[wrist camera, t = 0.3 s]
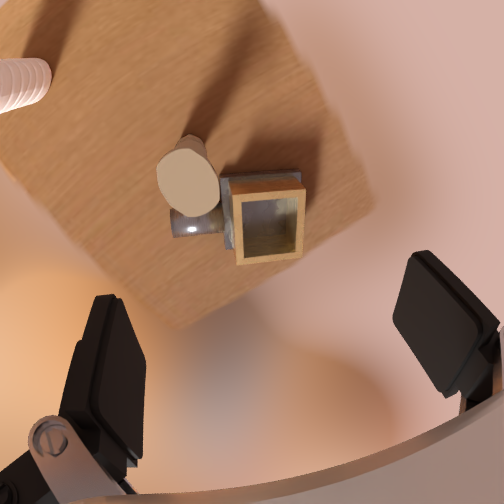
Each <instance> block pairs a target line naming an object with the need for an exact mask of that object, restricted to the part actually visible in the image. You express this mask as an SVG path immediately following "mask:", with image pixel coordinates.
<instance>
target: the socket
mask: <svg viewBox="0 0 504 504" xmlns="http://www.w3.org/2000/svg"><path fill="white" fill-rule="evenodd" d="M219 177H220V191H221V203H218V204H217V205H216V206H215V207H214V208H213V209H212V210H211V211H209V212H207V213H206V214H203V215H201V216H197V217H187V216H185V215H184V214H182V213H180V212H179V211H177V210H175V209H174V208H172V209H170V220H171V229H172V234H173V237H174V238H177V237H186V236H194V235H203V234H212V233H221V232H224V242H225V248H226V250H227V249H233V251H234V256H235V260H236V264H237V265H244V264H253V263H261V262H269V261H277V260H286V259H294V258H302V250H303V236H304V219H305V201H306V189H305V187H304V186H303V185H302V184H301V171H300V170H299V169H286V170H270V171H256V172H244V173H232V174H221V175H219Z"/></svg>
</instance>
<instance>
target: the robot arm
mask: <svg viewBox="0 0 504 504" xmlns="http://www.w3.org/2000/svg"><path fill="white" fill-rule="evenodd" d="M393 323H394V325H395V327H396V328H397V329H398V331H399V332H400V334H401V335H402V337H403V338H404V340H405V341H406V343H407V344H408V346H409V347H410V349H411V350H412V352H413V353H414V355H415V356H416V358H417V359H418V361H419V362H420V364H421V365H422V367H423V369H424V370H425V372H426V373H427V375H428V376H429V378H430V379H431V381H432V383H433V384H434V386H435V387H436V389H437V390H438V391H439V392H442V394H443V396H444V397H445V398H448V397H450V396H452V395H454V394H456V393H457V392H458V390H460V392H461V402H460V409H459V416H457V417H455V418H453V419H452V420H449V421H448V422H446V423H444V424H442V425H440V426H438V427H436V428H434V429H432V430H429V431H427V432H425V433H423V434H421V435H418V436H416V437H414V438H412V439H409V440H407V441H405V442H402V443H400V444H398V445H395V446H393V447H390V448H388V449H385V450H382V451H380V452H377V453H375V454H372V455H369V456H366V457H363V458H360V459H358V460H354V461H351V462H348V463H346V464H342V465H338V466H335V467H332V468H328V469H325V470H321V471H317V472H313V473H309V474H306V475H301V476H297V477H293V478H288V479H283V480H278V481H274V482H268V483H262V484H257V485H250V486H244V487H236V488H228V489H220V490H211V491H200V492H186V493H169V494H168V493H167V494H166V493H165V494H139V493H138V492H137V491H136V489H135V488H134V487H133V486H132V485H131V484H130V483H129V482H128V481H127V479H126V478H125V477H126V476H127V475H126V474H127V473H126V472H127V467H137V459H141V458H142V456H143V416H144V395H145V378H146V360H145V357H144V354H143V352H142V349H141V347H140V345H139V342H138V340H137V337H136V335H135V332H134V330H133V327H132V325H131V322H130V319H129V317H128V314H127V311H126V309H125V306H124V303H123V301H122V299H121V298H116V296H115V295H114V294H109V295H100V296H96V297H95V299H94V302H93V305H92V308H91V311H90V314H89V317H88V321H87V324H86V327H85V330H84V334H83V337H82V340H79V341H78V342H77V344H76V346H75V350H74V353H73V357H72V360H71V364H70V368H69V371H68V375H67V379H66V384H65V387H64V392H63V396H62V400H61V404H60V409H59V414H58V416H54V415H51V416H45V417H43V418H41V419H40V420H38V421H37V422H36V423H35V424H34V425H33V427H32V428H31V430H30V433H29V436H28V446H29V450H28V451H27V452H25V453H24V454H23V455H21V456H20V457H19V458H18V459H16V460H15V461H14V462H12V463H11V464H10V465H9V466H7V467H6V468H5V469H3V470H2V471H1V472H0V504H504V326H503V327H502V328H501V330H500V332H498V331H497V328H498V326H499V324H500V322H499V320H498V319H497V318H496V317H495V316H494V315H493V314H492V313H491V312H490V310H489V309H488V308H487V307H486V306H485V305H484V304H483V303H482V302H481V301H480V300H479V299H478V298H477V297H476V295H474V293H473V292H472V291H471V290H470V289H469V288H468V287H467V286H466V285H465V284H464V283H463V282H462V281H461V280H460V279H459V278H458V277H457V276H456V275H454V273H453V272H452V271H450V269H449V268H447V267H446V266H445V265H444V264H443V263H442V262H441V261H440V260H439V259H438V258H437V257H436V256H435V255H434V254H433V253H432V252H430V251H429V250H424V251H418V252H414V253H413V254H412V255H411V257H410V258H409V259H408V262H407V266H406V270H405V274H404V278H403V282H402V285H401V289H400V292H399V296H398V299H397V303H396V306H395V310H394V313H393Z"/></svg>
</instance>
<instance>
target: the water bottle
mask: <svg viewBox="0 0 504 504" xmlns="http://www.w3.org/2000/svg"><path fill="white" fill-rule="evenodd" d="M51 78H52V75H51V69H50V68H49V65H48V64H47V62H45V61H44V60H42V59H40V58H21V59H20V58H14V59H0V114H1V113H3V112H7V111H10V110H13V109H16V108H19V107H22V106H25V105H29V104H33V103H35V102H37V101H39V100H40V99H41V98H43V97H44V95H45V94H46V93H47V91H48V89H49V87H50V84H51Z"/></svg>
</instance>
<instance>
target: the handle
mask: <svg viewBox="0 0 504 504" xmlns="http://www.w3.org/2000/svg"><path fill="white" fill-rule="evenodd" d="M156 170H157V180H158V185H159V189H160V191H161V192H162V194H163V196H164V197H165V199H166V200H167V202H168V203H169V204H170V205H171V206H172V207H173V208H174V209H175V210H177V211H179V212H180V213H182V214H184V215H185V216H187V217H197V216H201V215H203V214H206V213H207V212H209V211H211V210H212V209H213V208H214V207H215V206H216V205H217V204H218V202H219V200H220V192H219V182H218V177H217V174H216V172H215V170H214V168H213V166H212V165H211V163H210V161H209V160H208V159H207V152H206V148H205V146H204V144H203V142H202V140H201V139H200V138H198V137H196V136H193V135H192V134H188V135H187V136H185V137H183V138H181V139H180V140H179V141H178V142H177V144H176V146H175V148H174V149H172V150H170V151H169V152H168V153H166V154H165V155H164V156H163V157H162V158H161V160H160V161H159V163H158V165H157V168H156Z"/></svg>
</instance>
